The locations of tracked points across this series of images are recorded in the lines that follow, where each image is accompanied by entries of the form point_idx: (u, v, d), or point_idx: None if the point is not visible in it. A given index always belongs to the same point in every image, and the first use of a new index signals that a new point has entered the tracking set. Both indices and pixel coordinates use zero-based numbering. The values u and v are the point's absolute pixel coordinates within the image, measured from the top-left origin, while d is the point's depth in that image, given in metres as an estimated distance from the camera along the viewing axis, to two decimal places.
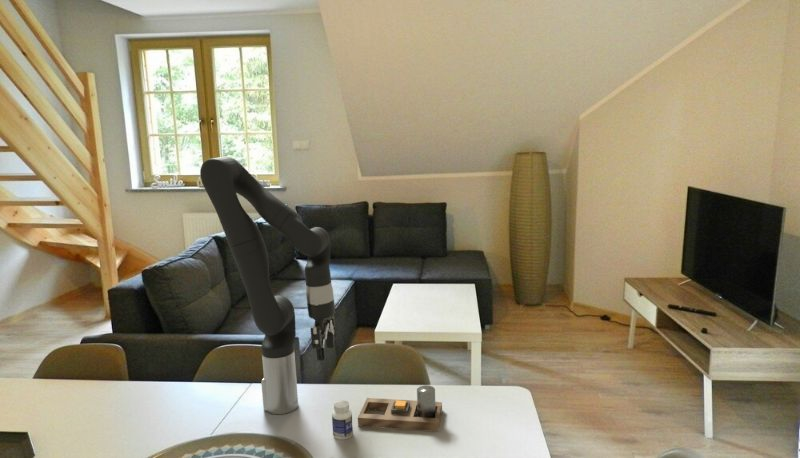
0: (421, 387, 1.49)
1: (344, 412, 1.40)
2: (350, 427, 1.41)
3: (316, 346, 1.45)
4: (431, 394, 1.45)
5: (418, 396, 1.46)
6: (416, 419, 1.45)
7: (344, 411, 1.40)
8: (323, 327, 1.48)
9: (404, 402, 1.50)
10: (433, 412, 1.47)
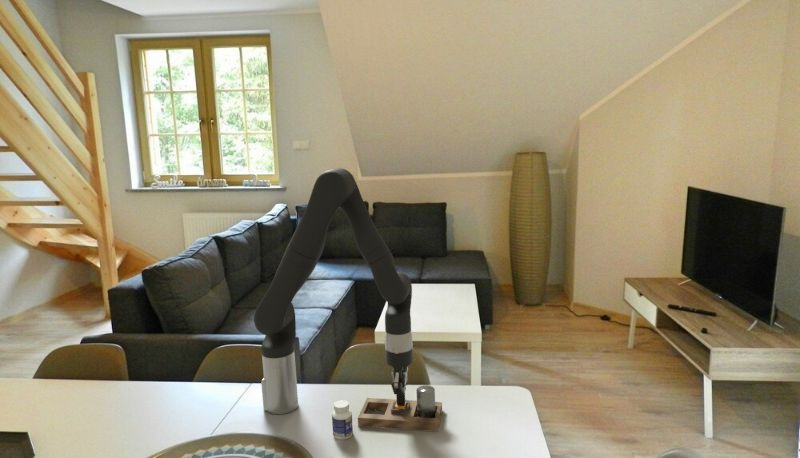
0: (421, 387, 1.49)
1: (344, 412, 1.40)
2: (350, 427, 1.41)
3: (398, 392, 1.46)
4: (430, 394, 1.45)
5: (418, 396, 1.46)
6: (416, 419, 1.45)
7: (344, 411, 1.40)
8: (402, 378, 1.45)
9: None
10: (433, 412, 1.47)
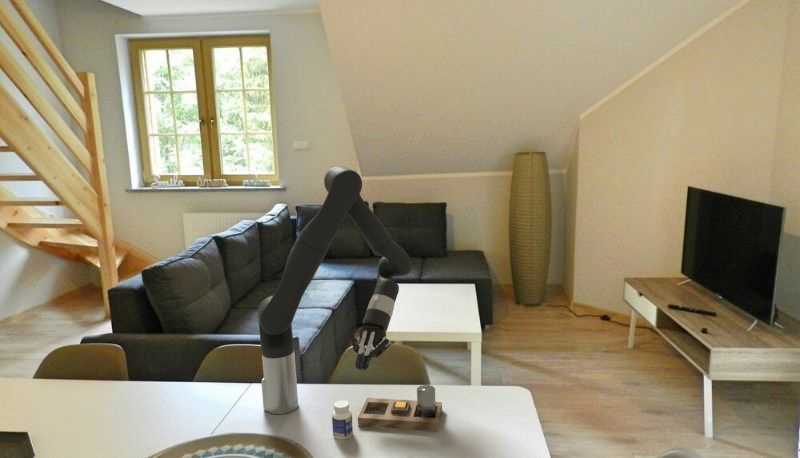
0: (421, 387, 1.49)
1: (344, 412, 1.40)
2: (350, 427, 1.41)
3: (376, 353, 1.51)
4: (431, 393, 1.46)
5: (418, 395, 1.47)
6: (416, 419, 1.45)
7: (344, 411, 1.40)
8: None
9: (404, 403, 1.50)
10: (433, 411, 1.47)
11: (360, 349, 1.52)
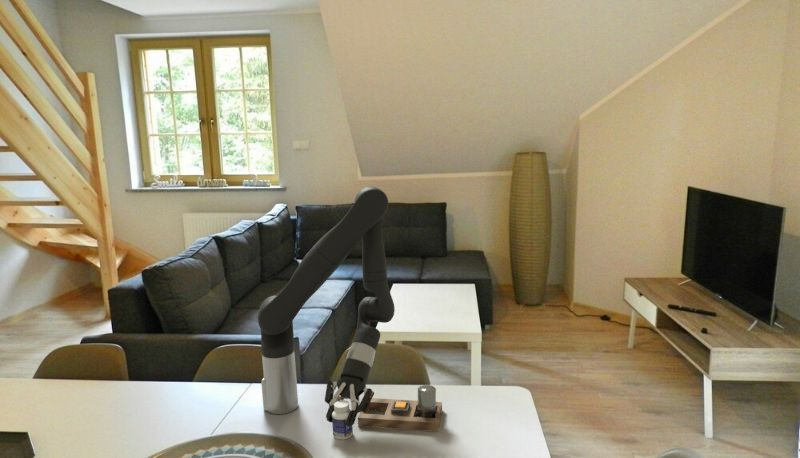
0: (421, 387, 1.49)
1: (344, 412, 1.40)
2: (350, 427, 1.41)
3: (363, 408, 1.41)
4: (433, 393, 1.46)
5: (420, 396, 1.46)
6: (416, 419, 1.45)
7: (344, 411, 1.40)
8: None
9: (404, 403, 1.50)
10: (434, 411, 1.47)
11: (331, 400, 1.44)
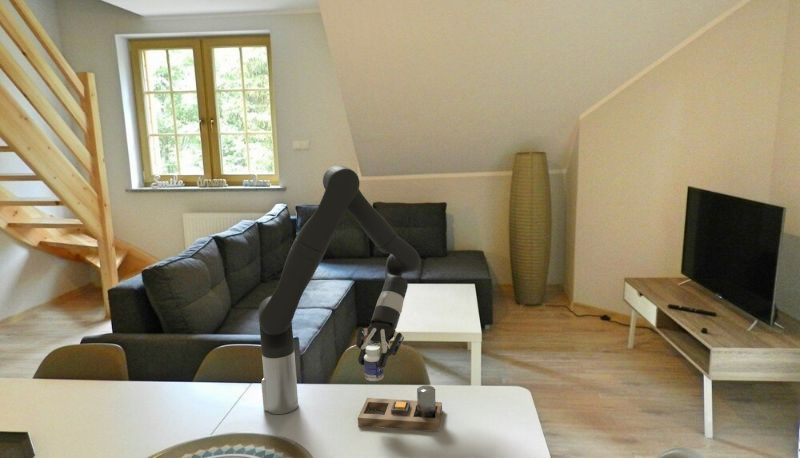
0: (420, 388, 1.48)
1: (376, 355, 1.47)
2: (381, 369, 1.48)
3: (394, 351, 1.47)
4: (432, 394, 1.45)
5: (420, 397, 1.46)
6: (416, 419, 1.45)
7: (376, 354, 1.46)
8: None
9: (404, 403, 1.50)
10: (434, 411, 1.47)
11: (363, 344, 1.50)
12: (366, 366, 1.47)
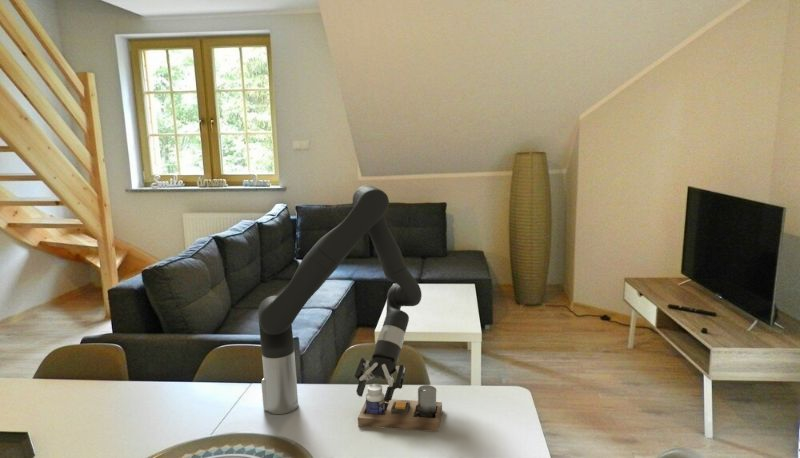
0: (421, 387, 1.48)
1: (378, 394, 1.49)
2: (383, 409, 1.50)
3: (400, 385, 1.49)
4: (434, 393, 1.46)
5: (421, 397, 1.46)
6: (416, 419, 1.45)
7: (378, 394, 1.49)
8: None
9: (404, 403, 1.50)
10: (435, 411, 1.47)
11: (361, 376, 1.53)
12: (368, 406, 1.49)
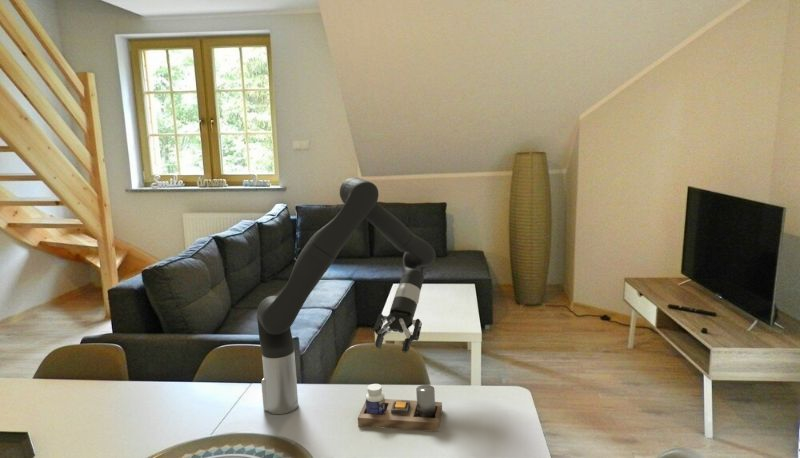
0: (419, 388, 1.48)
1: (377, 394, 1.49)
2: (383, 409, 1.50)
3: (417, 337, 1.58)
4: (433, 391, 1.46)
5: (420, 396, 1.46)
6: (416, 419, 1.45)
7: (377, 393, 1.49)
8: None
9: (404, 403, 1.50)
10: (434, 410, 1.48)
11: (379, 329, 1.62)
12: (368, 406, 1.49)
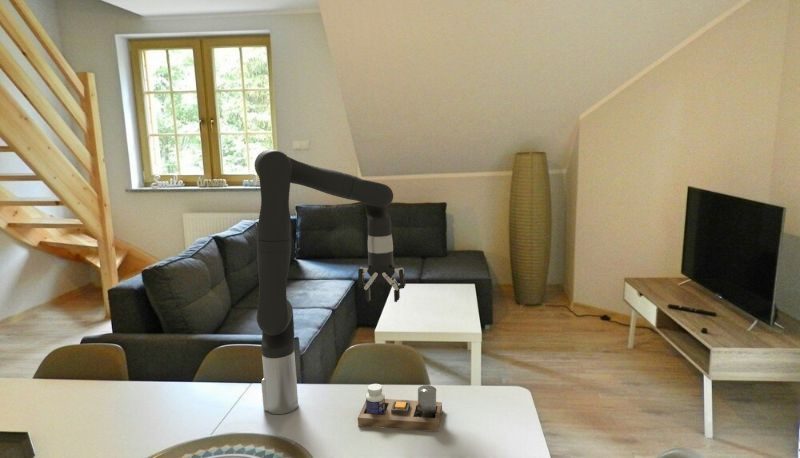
0: (420, 388, 1.48)
1: (378, 394, 1.49)
2: (383, 409, 1.50)
3: (404, 285, 1.62)
4: (435, 392, 1.46)
5: (422, 397, 1.45)
6: (416, 419, 1.45)
7: (378, 393, 1.49)
8: None
9: (404, 403, 1.50)
10: (435, 410, 1.48)
11: (365, 285, 1.63)
12: (368, 406, 1.49)
